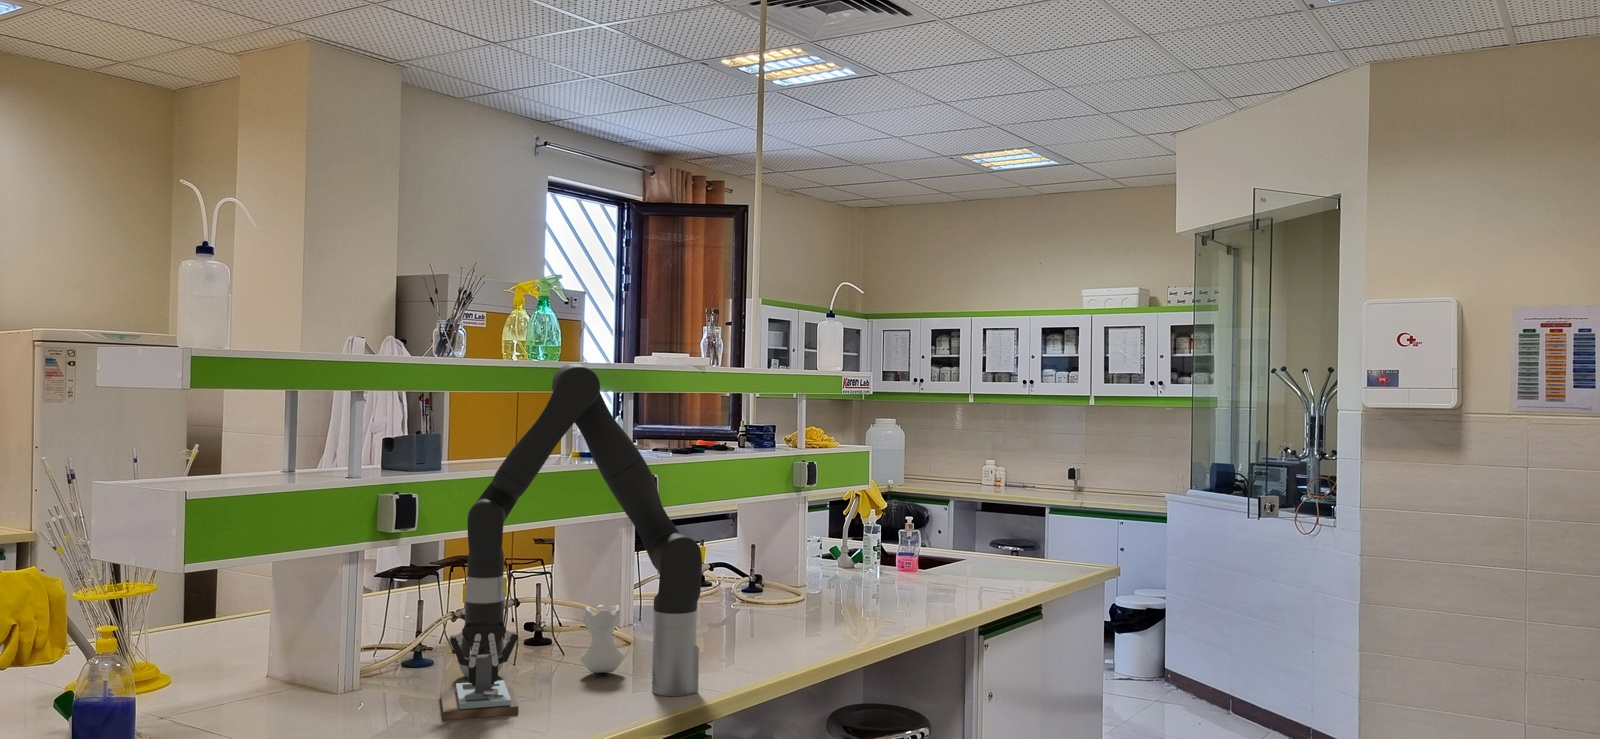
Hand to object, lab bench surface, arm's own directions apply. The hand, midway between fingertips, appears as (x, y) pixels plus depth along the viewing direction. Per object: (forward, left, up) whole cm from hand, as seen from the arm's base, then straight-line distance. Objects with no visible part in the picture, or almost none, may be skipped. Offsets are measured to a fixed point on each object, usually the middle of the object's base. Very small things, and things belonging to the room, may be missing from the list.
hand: (482, 684), depth 223 cm
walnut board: (+1, 0, -4) cm, 4 cm away
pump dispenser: (-1, -24, -5) cm, 24 cm away
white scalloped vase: (-27, -20, -5) cm, 34 cm away
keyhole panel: (0, 0, -2) cm, 2 cm away
